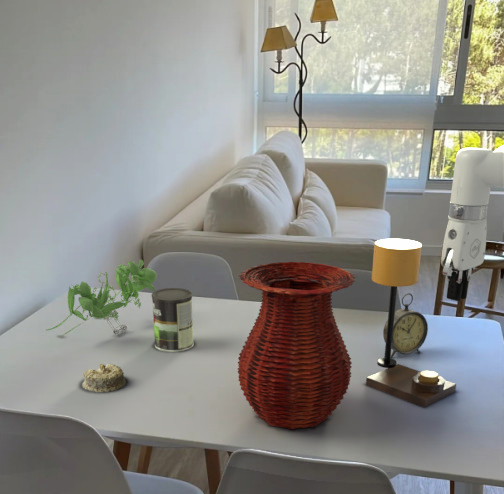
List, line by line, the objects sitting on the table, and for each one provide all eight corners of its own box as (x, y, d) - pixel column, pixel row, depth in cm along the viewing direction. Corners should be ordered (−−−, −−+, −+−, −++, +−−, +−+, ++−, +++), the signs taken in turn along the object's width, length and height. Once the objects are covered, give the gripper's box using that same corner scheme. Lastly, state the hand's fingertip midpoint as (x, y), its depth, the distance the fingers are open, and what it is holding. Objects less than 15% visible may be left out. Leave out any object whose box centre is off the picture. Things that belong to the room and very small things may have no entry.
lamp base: (455, 392, 159) (457, 376, 157) (424, 408, 152) (426, 391, 150) (397, 372, 170) (398, 356, 168) (365, 385, 162) (366, 370, 160)
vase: (261, 384, 162) (263, 255, 149) (361, 402, 154) (372, 267, 141) (218, 428, 143) (216, 284, 130) (329, 450, 135) (339, 299, 122)
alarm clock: (389, 361, 175) (395, 298, 168) (377, 354, 180) (383, 292, 173) (426, 355, 179) (433, 293, 172) (413, 348, 184) (420, 287, 177)
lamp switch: (441, 381, 156) (442, 374, 155) (430, 386, 154) (431, 378, 153) (426, 375, 159) (426, 368, 158) (415, 380, 156) (416, 373, 155)
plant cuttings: (57, 376, 183) (110, 337, 171) (18, 321, 181) (69, 277, 169) (130, 333, 212) (180, 297, 200) (97, 285, 210) (146, 246, 198)
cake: (134, 386, 163) (134, 365, 160) (98, 400, 156) (97, 378, 154) (109, 371, 168) (108, 350, 166) (73, 383, 162) (71, 362, 159)
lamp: (417, 365, 163) (431, 244, 151) (391, 376, 157) (403, 251, 145) (382, 353, 170) (393, 236, 158) (356, 363, 164) (365, 243, 152)
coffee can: (158, 354, 179) (155, 301, 173) (151, 341, 188) (148, 289, 182) (198, 350, 182) (196, 297, 176) (189, 337, 191) (187, 286, 184)
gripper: (463, 220, 138) (451, 310, 146) (504, 210, 147) (490, 295, 155) (430, 214, 143) (420, 302, 150) (472, 205, 152) (460, 288, 160)
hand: (456, 298), depth 153 cm, fingers closed
